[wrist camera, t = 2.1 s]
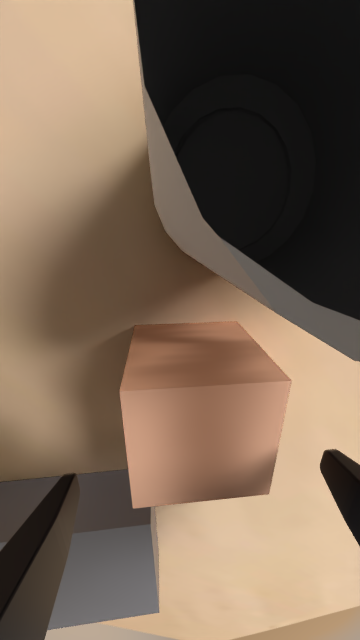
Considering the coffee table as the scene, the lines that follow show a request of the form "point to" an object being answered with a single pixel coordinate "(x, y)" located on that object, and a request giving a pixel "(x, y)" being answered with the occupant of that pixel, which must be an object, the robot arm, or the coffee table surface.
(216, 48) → the can
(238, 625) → the coffee table surface
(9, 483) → the charcoal box
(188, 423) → the terracotta cube
